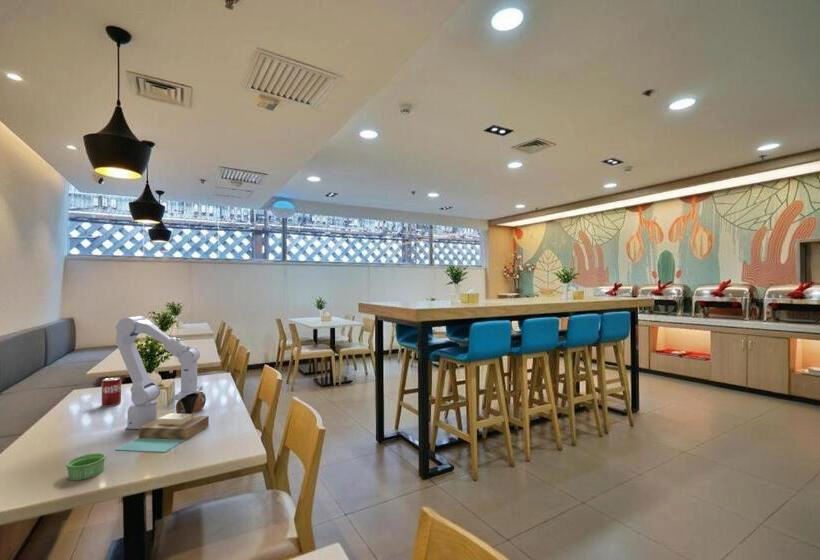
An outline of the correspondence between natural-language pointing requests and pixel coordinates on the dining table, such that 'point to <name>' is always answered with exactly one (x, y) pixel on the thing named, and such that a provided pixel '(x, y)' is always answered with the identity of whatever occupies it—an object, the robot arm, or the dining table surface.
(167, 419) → the cream bevelled block
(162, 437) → the wooden block
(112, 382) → the soda can
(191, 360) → the robot arm
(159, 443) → the mat
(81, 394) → the dining table surface
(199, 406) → the tin
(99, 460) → the ramekin
